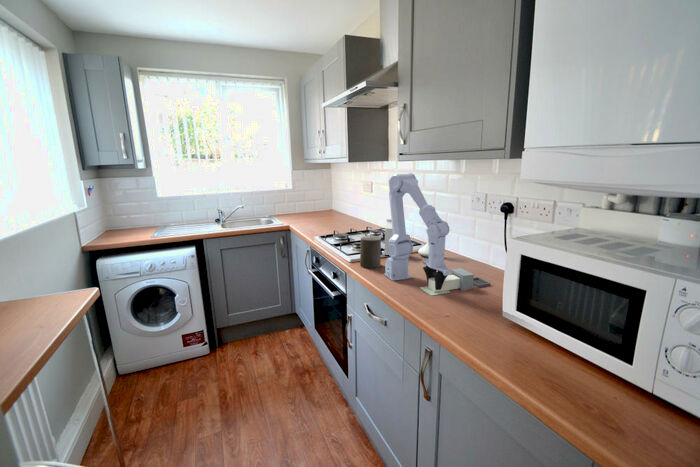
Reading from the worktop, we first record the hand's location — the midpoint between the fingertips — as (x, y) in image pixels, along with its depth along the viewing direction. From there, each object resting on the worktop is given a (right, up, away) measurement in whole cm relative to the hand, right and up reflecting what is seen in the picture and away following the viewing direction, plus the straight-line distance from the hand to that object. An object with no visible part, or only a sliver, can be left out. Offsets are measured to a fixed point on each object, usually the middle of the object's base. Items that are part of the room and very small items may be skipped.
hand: (434, 286), depth 123 cm
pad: (0, -1, 0) cm, 1 cm away
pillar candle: (-23, +5, +30) cm, 38 cm away
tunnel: (+12, 0, +4) cm, 13 cm away
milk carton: (-10, +9, +47) cm, 48 cm away
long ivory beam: (+4, -1, +2) cm, 5 cm away
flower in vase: (+9, +9, +46) cm, 48 cm away
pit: (+20, 0, +7) cm, 21 cm away
